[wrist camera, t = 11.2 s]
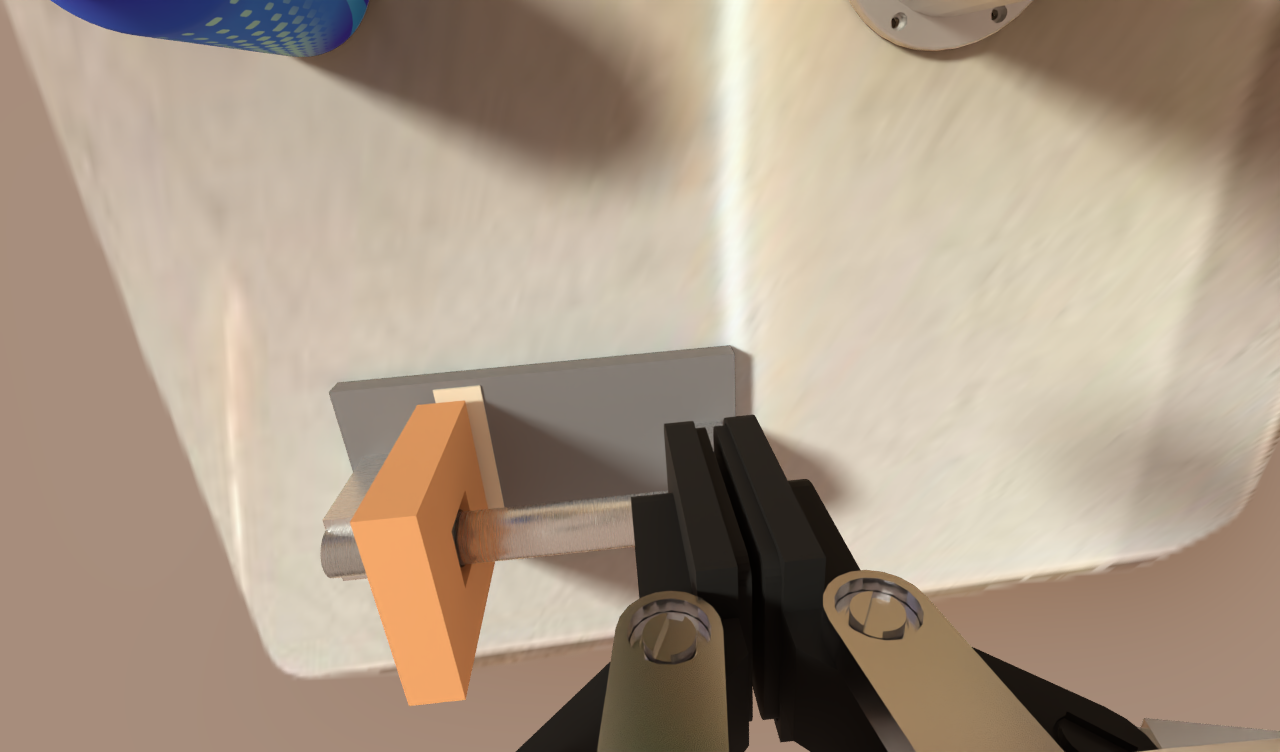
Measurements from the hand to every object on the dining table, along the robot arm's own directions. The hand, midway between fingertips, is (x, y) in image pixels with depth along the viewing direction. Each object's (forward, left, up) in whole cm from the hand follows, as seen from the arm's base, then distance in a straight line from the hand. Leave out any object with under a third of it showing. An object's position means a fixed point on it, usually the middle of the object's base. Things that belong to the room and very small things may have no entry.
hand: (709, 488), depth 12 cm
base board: (+7, +16, -29) cm, 34 cm away
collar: (+13, +16, -27) cm, 34 cm away
